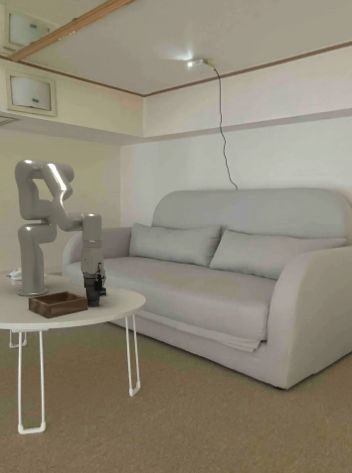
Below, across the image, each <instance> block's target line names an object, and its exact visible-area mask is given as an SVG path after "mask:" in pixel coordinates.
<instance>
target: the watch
mask: <svg viewBox="0 0 352 473" xmlns="http://www.w3.org/2000/svg"><path fill="white" fill-rule="evenodd" d="M106 280H107V275H106V274H105V275H104V277H103V280H102V290H100V297H102V296H103V295H104V296H107V288H106V287H104V286H105V284H106Z"/></svg>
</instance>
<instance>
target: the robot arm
mask: <svg viewBox="0 0 352 473" xmlns="http://www.w3.org/2000/svg"><path fill="white" fill-rule="evenodd" d="M14 179H15V182H16V186H17V191H18V192H17V193H18V194H17V195H18V206H19V207H18V208H19V214H20V217H21V219H23V220H24V221H40V223H37V222H35V223H34V222H33V223H32V222H31V223H26V224H23V225H21V226H20V227H19V228H18V230H17V239H18V242H19V247H20V265H21V289H20V290H18V291H17V292H18V295H19V296H23V297H24V296H25V297H31V296H32V297H36V296H43V295H46V294H47V293H48V292H49V289H48V288H47V287H45V264H44V260H45V259H44V257H45V256H44V251H43V249H42V248H41V246H40V245H43V244H44V245H45V244H50V243H53V242H55V241H56V239H57V236H58V228H59V229H60V230H61V231H63V232H65V233H68V232H82V235H81V237H82V241H81V242H82V248H81V254H80V271H81V272H82V278H83V279H84V273H85V272H86V271H87V272H88V273H89V274H94V277H95V280H96V281H94V284H95V291H99V290H102V280H103V277H104V275H106V270H105V268H104V255H103V237H102V236H103V235H102V234H103V230H102V229H103V228H102V227H103V225H102V224H103V223H102V215H101V214H100V213H97V212H95V213H93V212H92V213H89V212H68V211H67V209H66V207H65V205H64V201H66V200H68V199H69V198H70V197H71V196H72V195H73V193H74V190H73V188H72V186H71V184H70V183H71V182H73V181H74V179H75V171H74V169H73V168H72V166H71V165H69V164H68V163H64V162H63V163H62V162H57V161H56V162H55V161H50V160H43V159H36V158H35V159H34V158H24V159H20V160H19V161H17V163H16V165H15V168H14ZM34 180H43V181H44V182H45V184H46V186H47V188H48V190H49V192H50V194H51V196H52V200H49V199H40V193H39V192H40V191H39V188H38V185H37V184H36V182H35V181H34ZM57 226H58V227H57ZM96 272H98V273H96ZM98 274H99V276H98V277H97V275H98ZM83 288H84V289H86V287H85V281H84V280H83Z"/></svg>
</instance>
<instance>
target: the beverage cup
mask: <svg viewBox="0 0 352 473" xmlns="http://www.w3.org/2000/svg"><path fill="white" fill-rule="evenodd" d="M96 273H98V272H96ZM98 276H99V274H98V275H97V277H98ZM84 281H85V287H86V288H85V295H86V298H88V308H89V307H90V308H94V307H95V308H96V307H99V306H100V299H101V296H100V290H99V291H95V284H94V281H96V280H95V277H94V274H89V273H88V272H87V271H86V272H85V273H84V278H83V282H84Z"/></svg>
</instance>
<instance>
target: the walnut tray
mask: <svg viewBox="0 0 352 473" xmlns="http://www.w3.org/2000/svg"><path fill="white" fill-rule="evenodd" d="M88 308H89V306H88V298H87V297H85V296H82V295H80V294H76V293H73V292H71V291H67V290H65V291H59V292H55V293H49V294H42V295H36V296H32V297H31V296H30V297H28V310H30V311H31V312H33V313H36V314H37V315H40V316H42V317H44V318H46V319H52V318H58V317H62V316H65V315H71V314H74V313H75V314H76V313H78V312H85V311H88Z"/></svg>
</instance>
